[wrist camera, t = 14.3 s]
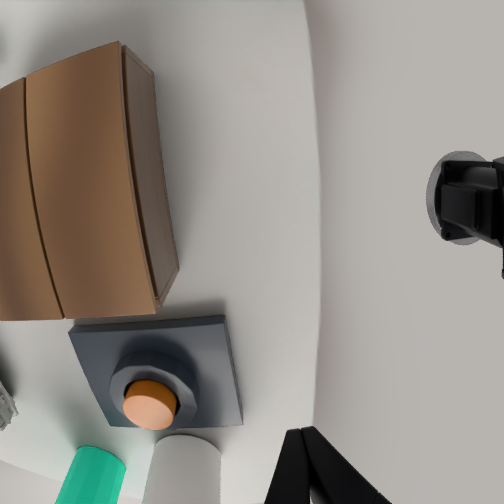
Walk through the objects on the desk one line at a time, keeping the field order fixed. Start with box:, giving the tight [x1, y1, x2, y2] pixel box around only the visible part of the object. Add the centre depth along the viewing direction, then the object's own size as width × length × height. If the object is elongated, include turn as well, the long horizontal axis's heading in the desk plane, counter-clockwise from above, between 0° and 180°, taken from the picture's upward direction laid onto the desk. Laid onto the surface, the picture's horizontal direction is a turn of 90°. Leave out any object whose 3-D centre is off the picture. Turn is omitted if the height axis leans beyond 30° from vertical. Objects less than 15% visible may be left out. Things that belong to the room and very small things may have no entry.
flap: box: [26, 41, 158, 319], centre depth 13 cm, size 5×13×1 cm, turn 6°
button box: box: [68, 315, 243, 430], centre depth 21 cm, size 12×10×3 cm
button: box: [123, 379, 177, 430], centre depth 19 cm, size 4×4×2 cm
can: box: [142, 434, 221, 504], centre depth 20 cm, size 6×6×12 cm
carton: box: [0, 45, 179, 321], centre depth 16 cm, size 11×13×6 cm
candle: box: [55, 446, 126, 504], centre depth 21 cm, size 6×6×12 cm
